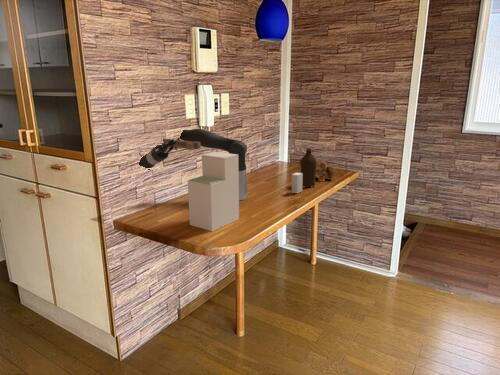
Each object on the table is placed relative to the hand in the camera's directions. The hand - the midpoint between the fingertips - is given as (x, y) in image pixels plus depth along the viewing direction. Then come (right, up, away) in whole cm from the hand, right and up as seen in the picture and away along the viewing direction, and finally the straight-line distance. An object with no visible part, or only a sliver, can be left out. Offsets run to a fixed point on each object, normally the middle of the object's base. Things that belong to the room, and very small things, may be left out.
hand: (177, 140), depth 174 cm
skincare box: (+63, -25, +52) cm, 86 cm away
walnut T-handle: (+2, -3, 0) cm, 4 cm away
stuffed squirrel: (+86, -17, +84) cm, 121 cm away
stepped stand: (+17, -39, +4) cm, 43 cm away
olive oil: (+72, -21, +67) cm, 101 cm away
